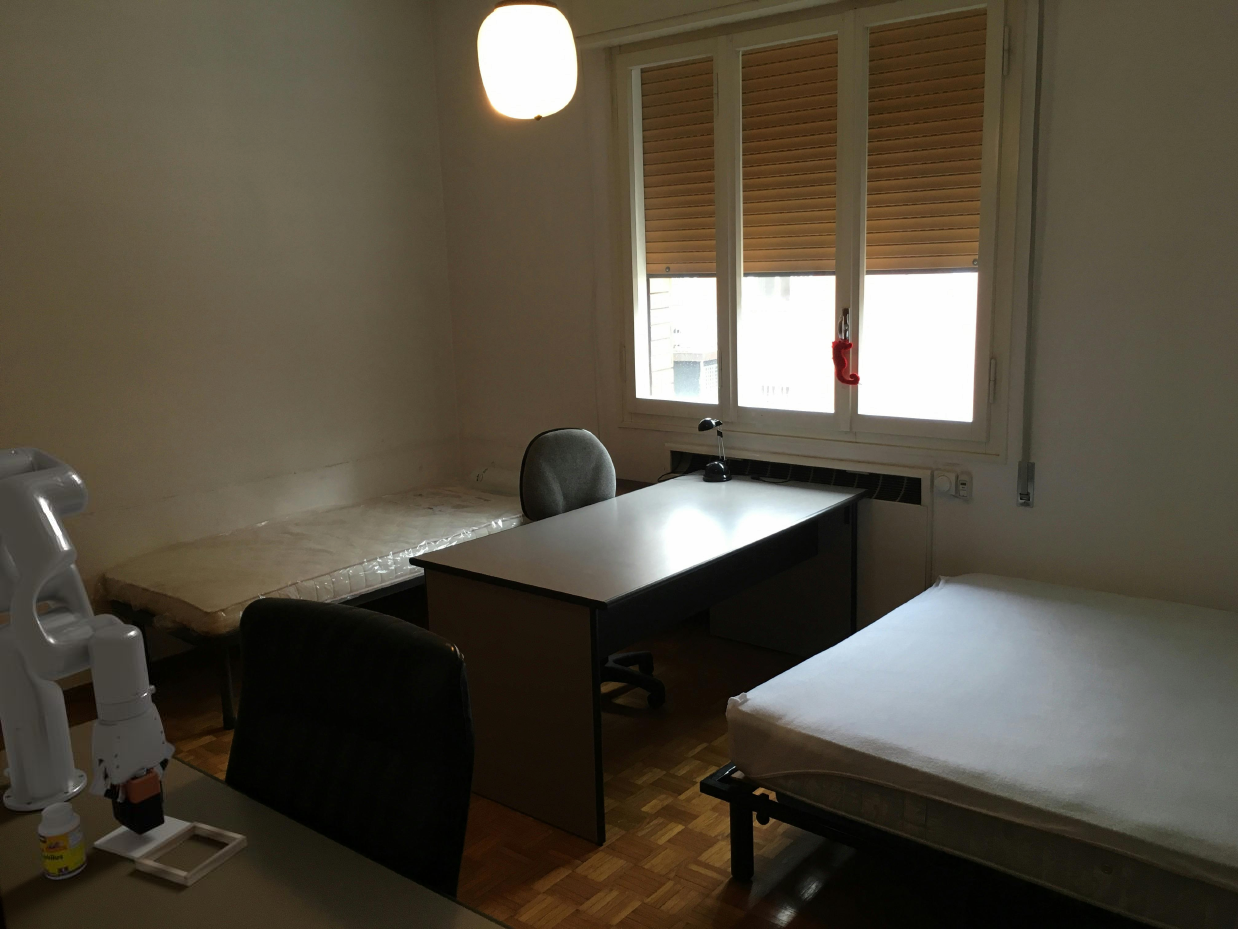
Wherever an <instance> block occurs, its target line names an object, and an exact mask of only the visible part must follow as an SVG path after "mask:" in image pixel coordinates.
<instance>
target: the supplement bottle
mask: <svg viewBox="0 0 1238 929" xmlns="http://www.w3.org/2000/svg"><path fill="white" fill-rule="evenodd" d="M73 809H74V808H73V804H72V803H70V802H67V801H64V802H61V803H56V804H53V805H51V806H48V807H47V808H43V810H42V811H41V822H40V823H39V824H38V828H37V832H38V833H37V834H38V839H39V844H40V852H41V858H42V863H43V870H44V874H45V877H47V878H48V879H50V880H54V881H55V880H58V881H59V880H64V879H69V878H71V877H73V876H75V875H77V874H79V873H81V871H82V870H84V868H85V867H86V865H87V862H88V859H87V852H86V847H85V839H84V838H85V837H84V833H83V827H82V820H81V816H80V815H79V813H76V812H74V810H73Z"/></svg>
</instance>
